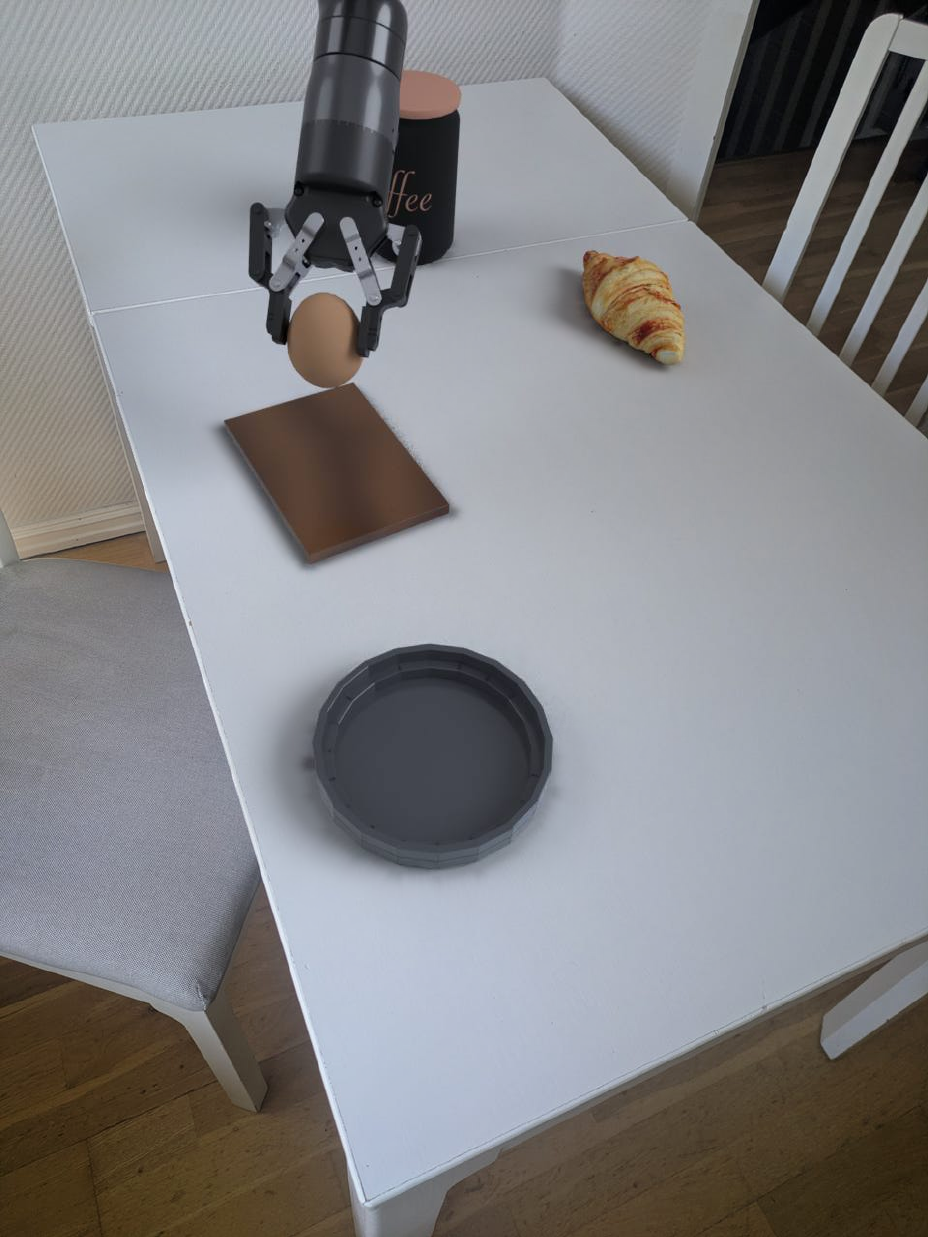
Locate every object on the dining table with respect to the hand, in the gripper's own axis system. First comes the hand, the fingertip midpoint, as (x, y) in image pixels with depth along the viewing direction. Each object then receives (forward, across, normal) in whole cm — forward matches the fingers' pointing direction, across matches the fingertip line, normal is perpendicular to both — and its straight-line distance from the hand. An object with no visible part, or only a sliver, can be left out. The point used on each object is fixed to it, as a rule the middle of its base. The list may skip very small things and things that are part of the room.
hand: (321, 348), depth 74 cm
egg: (+2, 0, +4) cm, 5 cm away
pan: (+30, +15, -9) cm, 35 cm away
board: (+9, 0, +12) cm, 15 cm away
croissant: (-13, +27, +34) cm, 46 cm away
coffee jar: (-20, -1, +42) cm, 46 cm away
